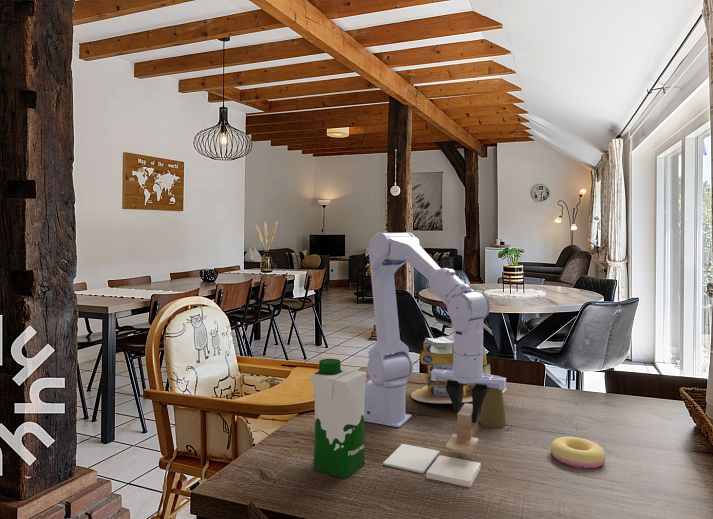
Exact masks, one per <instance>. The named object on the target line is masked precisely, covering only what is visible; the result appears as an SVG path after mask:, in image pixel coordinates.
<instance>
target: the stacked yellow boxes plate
mask: <svg viewBox="0 0 713 519" xmlns="http://www.w3.org/2000/svg"><path fill="white" fill-rule="evenodd" d="M422 345H423V351H422V352H421V353H420V354H419V357H420V363H421V364H422V365H425V366H426V367H427V372H425V373H424V378H425V383H426V385H427V386H423V387H421V388H422V389H420V388H418V389H419V390H418V389H416V391H415V390H414V391H415V392H414V391H413V392H411V394H410V396H411V398H412V399H413V400H416V401H418V402H422V403H430V404H452V401H451V399H450V397H449V395H448V393H447V391H446V385H447V382H446V381H439V380H437V381H431V371H432V370H434V369H438V370H453V345H454V334H452V335H451V334H450V335H445V336H443V335H441V336H439V337H436V338H432V337H431V338H429V337H426V338H425V339H424V341H423V343H422ZM487 353H488V350H486V348H485V346H483V373H484V374H488V375H492V374H491V364H490V363H487V362H488V361H487ZM474 387H475V385H469V384H464V386H463V396H462V403H469V404H472V392H471V390H472V389H473V388H474ZM506 391H507V387H506V388H505V389H504V390H503V391H502V394H503V393H505V392H506Z"/></svg>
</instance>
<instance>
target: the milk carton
mask: <svg viewBox="0 0 713 519" xmlns="http://www.w3.org/2000/svg"><path fill="white" fill-rule="evenodd" d="M318 369H319V370H317V372H314V373H313V374H311V375H310V381H311V385H312V386H311V387H312V392H313V395H314V448H313V449H314V450H313V451H314V452H313V468H312V469H313V470H315V471H317V472H321V473H325V474H327V475H330V476H331V475H332V476H334V477H337V478H341V479H343V480H345V479H346V478H348V477H349V476H351V475H352V474H353V473H355V472H357V471H358V470H359V469H360V468H362V467H363V466H364V465H365V421H364V394H365V385H366V383H367V375H368V371H367V372H366V371H361V370H357V369H353V368H346V367H342V366H341V360H340V359H338V358H324V359H320V360H319V363H318Z"/></svg>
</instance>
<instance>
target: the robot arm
mask: <svg viewBox="0 0 713 519" xmlns="http://www.w3.org/2000/svg"><path fill="white" fill-rule="evenodd" d="M420 244H421V243H420V239H419V238H418V237H416V236H415V235H414V233H411V232H409V231H405V232H381V231H380V232H379V231H378V232H376V233H374V234H373V236H372V237H371V239H370V240H369V243H368V244H367V245H368V246H367V247H368V258H369V268H370V278H371V288H372V289H371V290H372V291H371V292H372V298H373V301H372V302H373V312H374V322H375V332H376V334H375V335H376V342H375V344H374V345H373V346H372V347H371V348H370V349H369V351H368V361H367V365H366V366H367V367H366V370H367V375H368V378H369V380H368V381H366V384H365V394H364V422H366V423H371V424H379V425H384V426H389V427H394V428H400V427H402V426H403V425H404V424H405V423H406V422H407V421H408V420H410V418H411V417H412V414H409V413H406V389H407V388H406V387H407V386H406V383H408V381H409V377H411V376H412V374H413V371H414V363H413V360H412V357H411V354H410V349H409V346H408V345H406V344H405V343H404V342H403V341H402V340H401V336H400V335H401V334H400V327H399V316H398V315H399V313H398V305H397V294H396V283H395V273H396V272H397V270H398V269H399V268H400V267H402V266H403V265H404V264H405V263H408V264H409V265H410V266H412V267H413V268H415V270H416V271H418V272H419V273H420V274H421V275H423V277H425V278H426V279H427V280H428V288H429V289H430V290H431V291H432V293H434V294H435V296H437V298H439V299H440V300H441V301H442V302H443V303H444V305H446V310H447V314H448V316H449V318H450V321H451V328H452V330H453V335H454V345H453V370H438V369H434V370H432V371H431V381H437V380H439V381H446V382H447V385H446V391H447V393H448V395H449V397H450V399H451V401H452V403H451V404H452V407H453V409H454V413H455V420H456V421H457V413H458V412H459V411H460V409H461V408H462V406H463V402H462V396H463V386H464V384H469V385H475V387H474V388H473V389H472V390H471V392H472V401H471V403H472V404H473V411H472V423H476V422H477V421H479V418H480V413H481V406H482V402H483V400H484V398H485V395H486V393H487V391H488V389H489V387H491V388H498V389H499V390H504V389H505V388H506V389H507V378H506V377H503V376H500V377H497V376H498V375H497V376H493V375H494V374H491V375H488V374H484V373H483V347H484V319H485V318H486V317H488V315H489V314H490V311H491V305H490V300H489V298H488V296H487V295H486V294H485V292H483V291H482V290H474V289H472V288H471V286H470V285H469V284H466V283H465V282H464V281H463V280H462V279H460V278H459V276H457V275H456V270H454V269H453V268H448V267H442V268H441V267H440V266H439V265H438V264H437V263H436V261H435V260H433V258H432V257H431V256H430V255H429V254H428V253H427V252H426V251H425V249H424V248H423V247H422V246H421V245H420Z"/></svg>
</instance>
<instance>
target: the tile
mask: <svg viewBox="0 0 713 519" xmlns="http://www.w3.org/2000/svg"><path fill="white" fill-rule="evenodd" d="M430 465H431V466H429V467H428V468H427V470H426V471H425V472H426V473H425V476H426V477H425V478H426V479H429V480H435V481H438V482H439V481H440V482H443V483H448V484H453V485H458V486H461V487H467V488H471V487H472V485H473V483H474V481H475V479H476V478H477V476H478V475H479V474H478V473H479V472H480V471H481V467H482V464H481V462H478V461H477V462H476V461H472V460H467V459H462V458H457V457H451V456H447V455H442V454H441V455H440V454H438V455H437V457H436V458H435V459H434V460H433V462H432V463H431V464H430Z"/></svg>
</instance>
